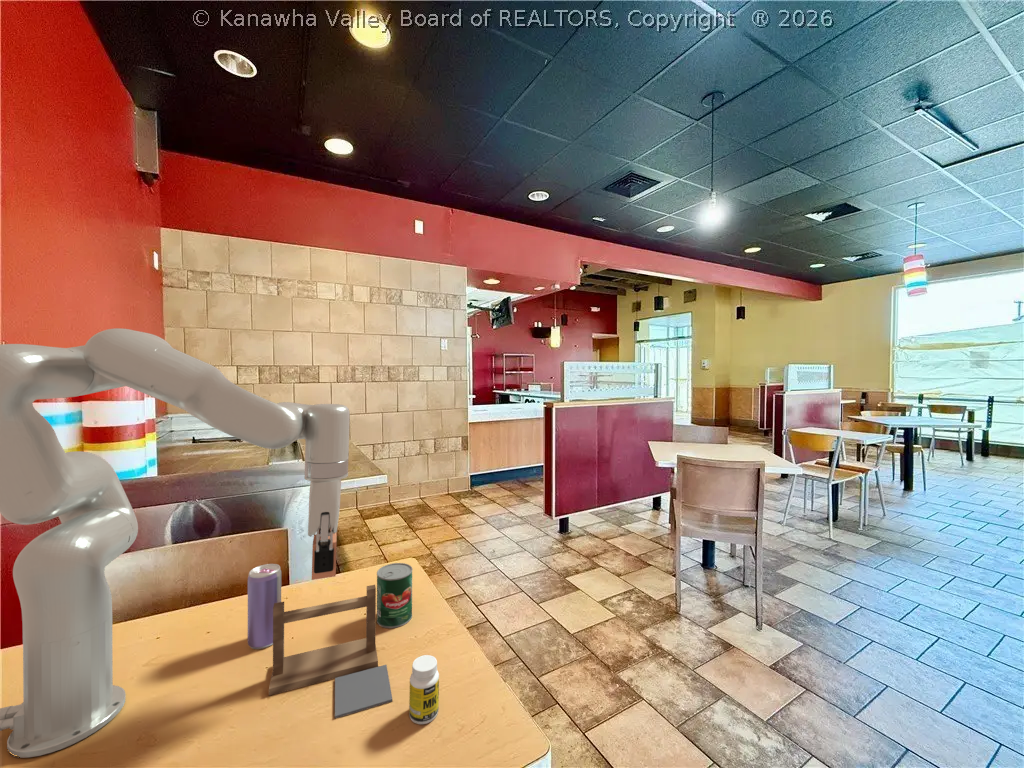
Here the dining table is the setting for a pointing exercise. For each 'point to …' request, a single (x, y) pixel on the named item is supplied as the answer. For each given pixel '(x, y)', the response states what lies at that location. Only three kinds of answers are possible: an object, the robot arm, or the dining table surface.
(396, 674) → the dining table surface
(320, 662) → the stand
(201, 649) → the dining table surface
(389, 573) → the canned tomato
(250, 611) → the beverage can
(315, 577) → the c link
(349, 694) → the mat
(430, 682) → the supplement bottle
